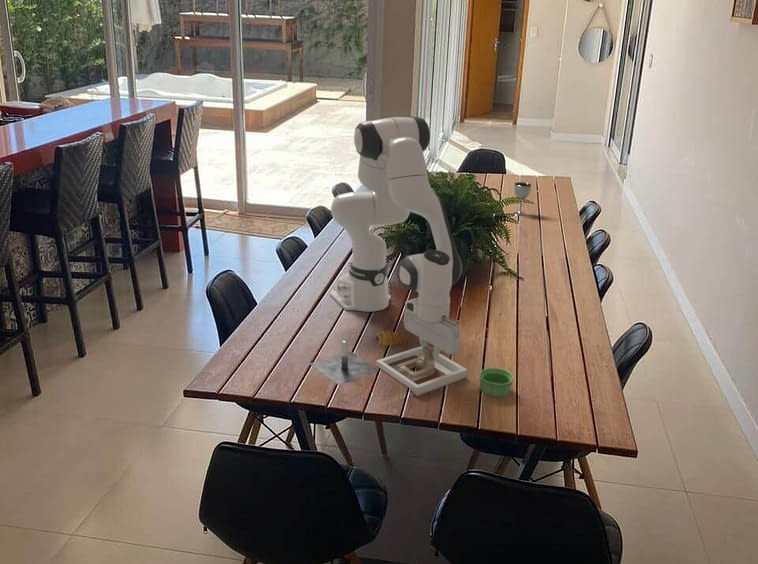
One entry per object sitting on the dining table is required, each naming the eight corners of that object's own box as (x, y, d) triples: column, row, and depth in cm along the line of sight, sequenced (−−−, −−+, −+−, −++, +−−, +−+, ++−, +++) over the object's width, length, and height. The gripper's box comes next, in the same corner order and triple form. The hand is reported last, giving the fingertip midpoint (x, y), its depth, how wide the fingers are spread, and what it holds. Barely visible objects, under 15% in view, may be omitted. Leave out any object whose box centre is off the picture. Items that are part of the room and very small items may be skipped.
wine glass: (508, 211, 355) (511, 182, 349) (522, 211, 357) (526, 182, 351) (516, 216, 348) (519, 186, 342) (530, 215, 350) (534, 185, 344)
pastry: (403, 337, 219) (404, 326, 217) (409, 348, 213) (409, 336, 211) (373, 339, 217) (374, 328, 215) (378, 350, 211) (378, 338, 209)
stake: (309, 366, 199) (309, 337, 196) (350, 354, 207) (351, 326, 204) (337, 388, 189) (337, 358, 185) (379, 373, 197) (380, 344, 193)
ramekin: (508, 381, 195) (509, 367, 194) (515, 398, 187) (516, 384, 185) (475, 381, 195) (477, 367, 193) (481, 398, 187) (482, 383, 185)
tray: (375, 368, 199) (376, 360, 198) (424, 352, 210) (425, 344, 209) (416, 396, 186) (417, 388, 185) (466, 377, 196) (467, 369, 195)
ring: (396, 371, 197) (397, 352, 195) (423, 361, 203) (424, 343, 201) (413, 382, 192) (414, 363, 189) (441, 372, 197) (442, 353, 195)
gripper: (468, 321, 187) (463, 367, 192) (418, 295, 202) (415, 338, 207) (450, 326, 183) (446, 373, 188) (401, 300, 198) (398, 344, 203)
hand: (430, 355), depth 198 cm, fingers open, 3 cm apart
